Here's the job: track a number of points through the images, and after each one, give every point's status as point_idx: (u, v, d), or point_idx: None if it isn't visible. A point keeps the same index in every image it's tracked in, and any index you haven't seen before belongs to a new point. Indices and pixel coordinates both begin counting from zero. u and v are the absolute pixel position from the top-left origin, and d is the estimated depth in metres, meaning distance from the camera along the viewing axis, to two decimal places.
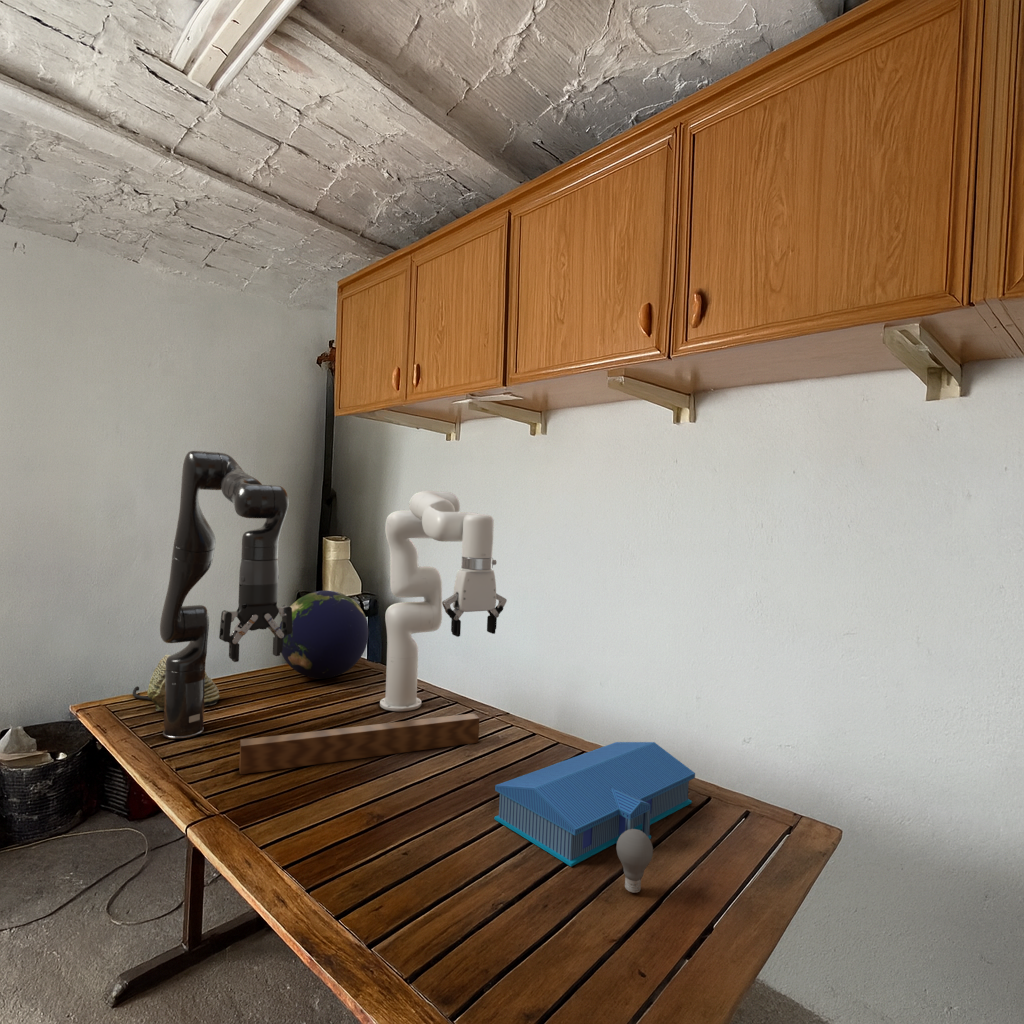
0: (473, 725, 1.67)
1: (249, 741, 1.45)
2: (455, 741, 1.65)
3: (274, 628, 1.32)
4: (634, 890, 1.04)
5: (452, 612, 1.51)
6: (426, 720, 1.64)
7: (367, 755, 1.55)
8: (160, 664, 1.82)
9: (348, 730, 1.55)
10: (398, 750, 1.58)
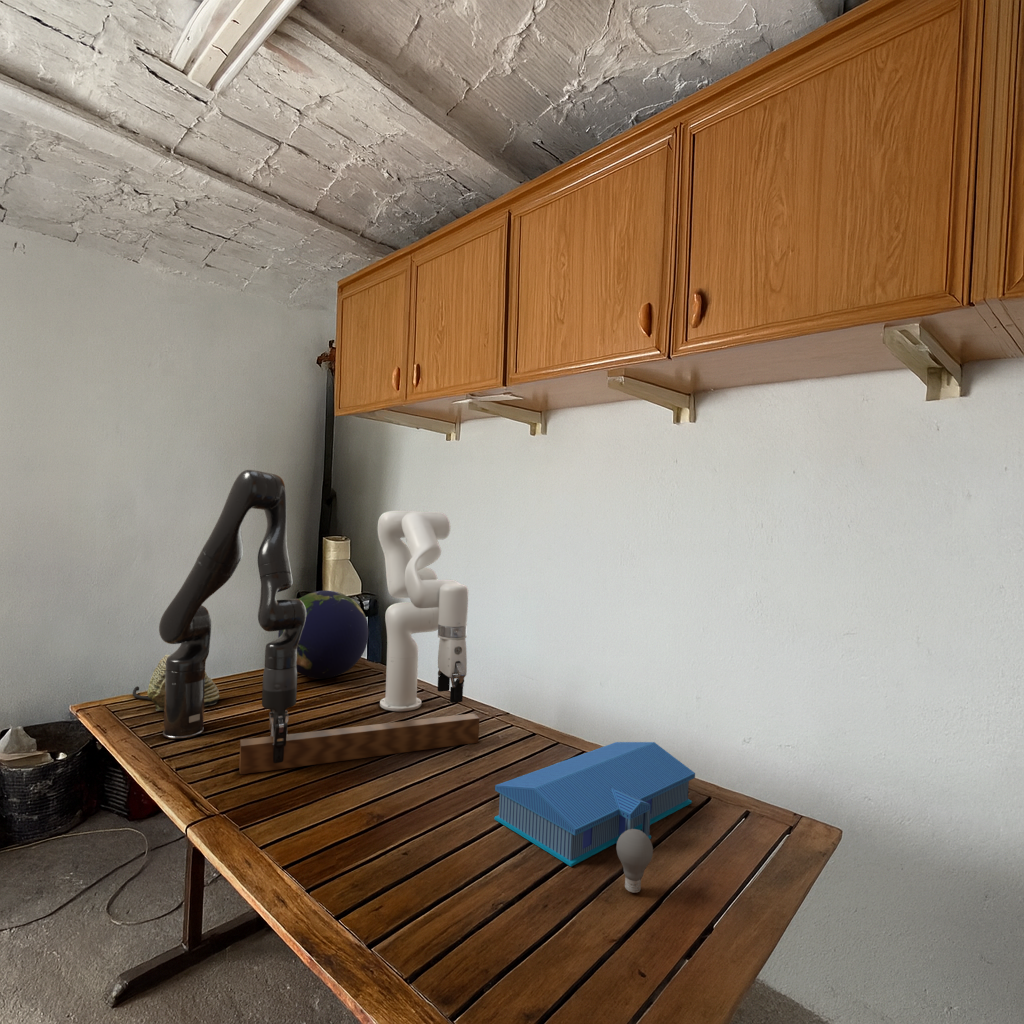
0: (473, 725, 1.67)
1: (249, 741, 1.45)
2: (455, 741, 1.65)
3: (271, 733, 1.45)
4: (634, 890, 1.04)
5: None
6: (426, 720, 1.64)
7: (367, 755, 1.55)
8: (160, 664, 1.82)
9: (348, 730, 1.54)
10: (398, 750, 1.58)
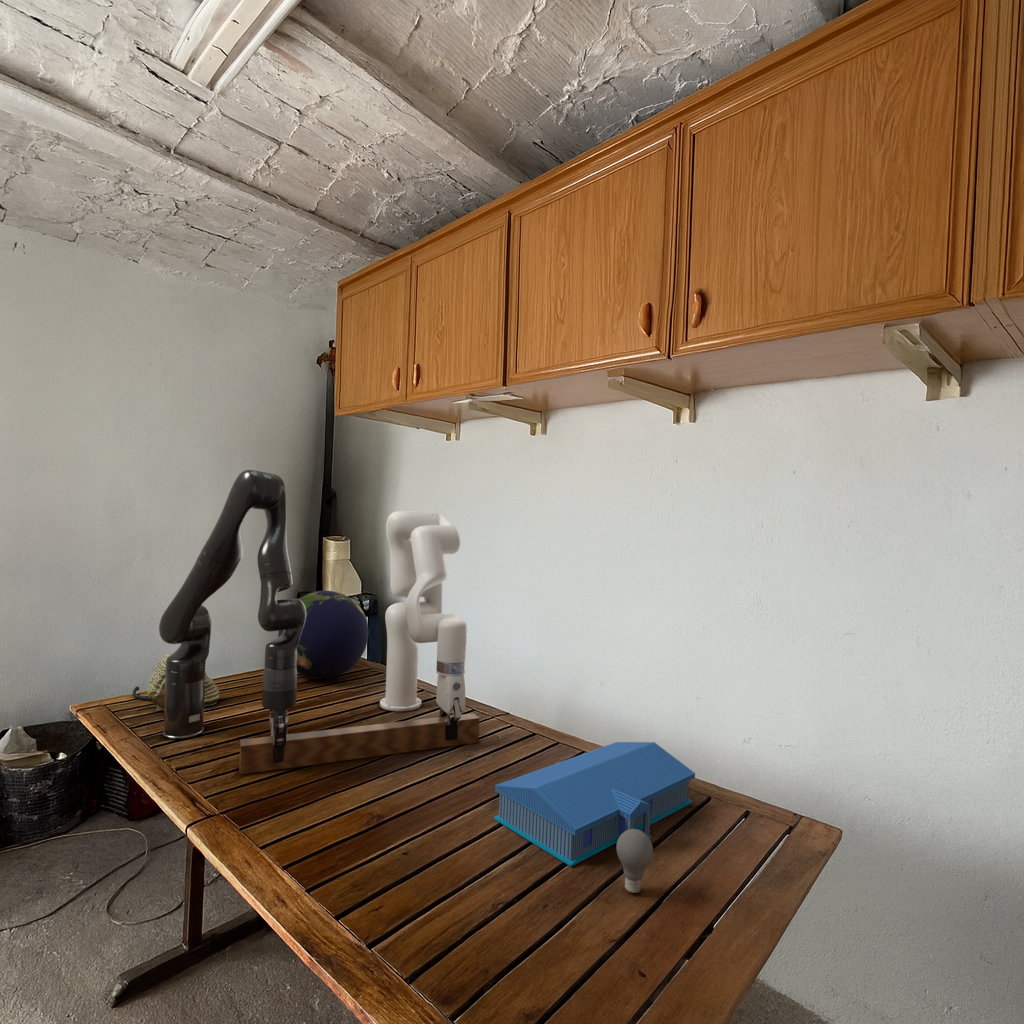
0: (473, 725, 1.67)
1: (249, 741, 1.45)
2: (455, 741, 1.65)
3: (271, 733, 1.45)
4: (634, 890, 1.04)
5: None
6: (426, 720, 1.64)
7: (367, 755, 1.55)
8: (160, 664, 1.82)
9: (348, 730, 1.54)
10: (398, 750, 1.58)
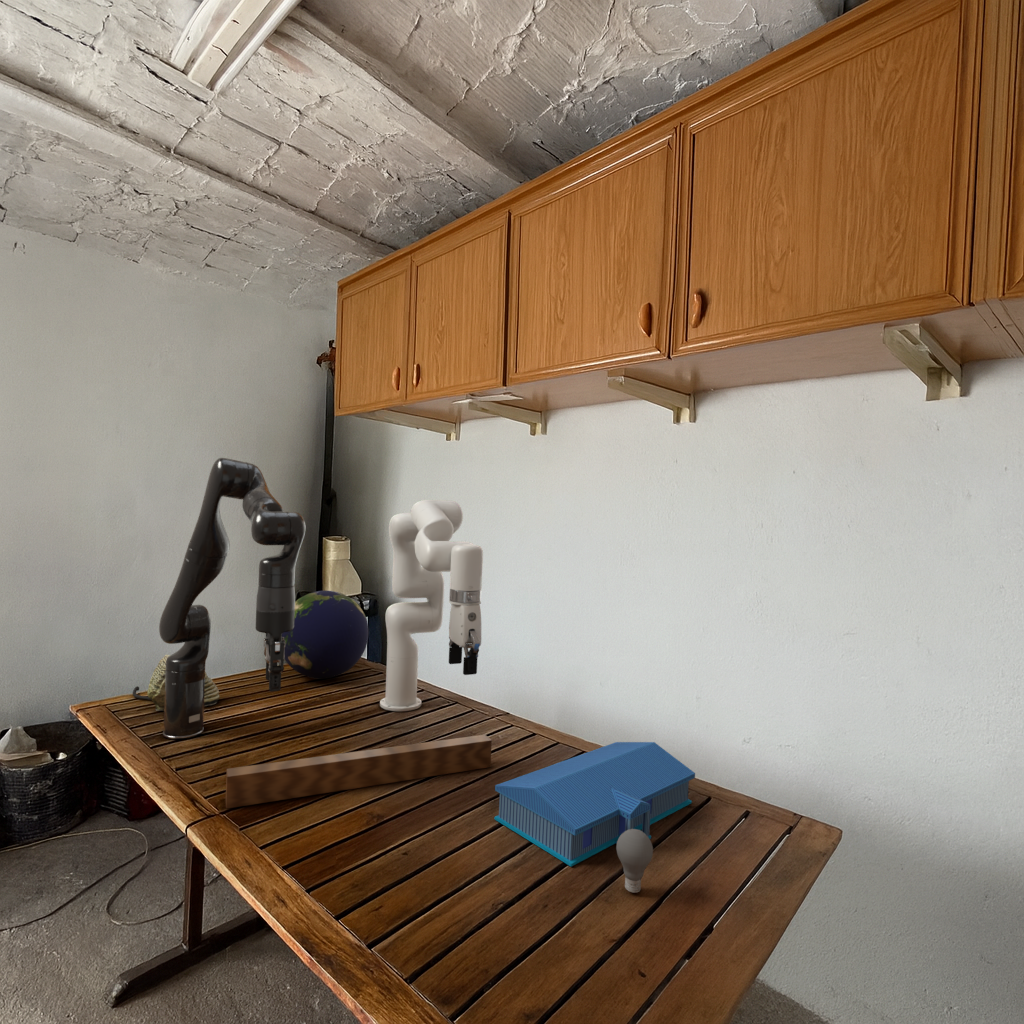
0: (485, 748, 1.51)
1: (237, 771, 1.30)
2: (465, 766, 1.49)
3: (266, 659, 1.28)
4: (634, 890, 1.04)
5: None
6: (433, 743, 1.49)
7: (368, 784, 1.40)
8: (160, 664, 1.82)
9: (347, 756, 1.39)
10: (403, 777, 1.43)
